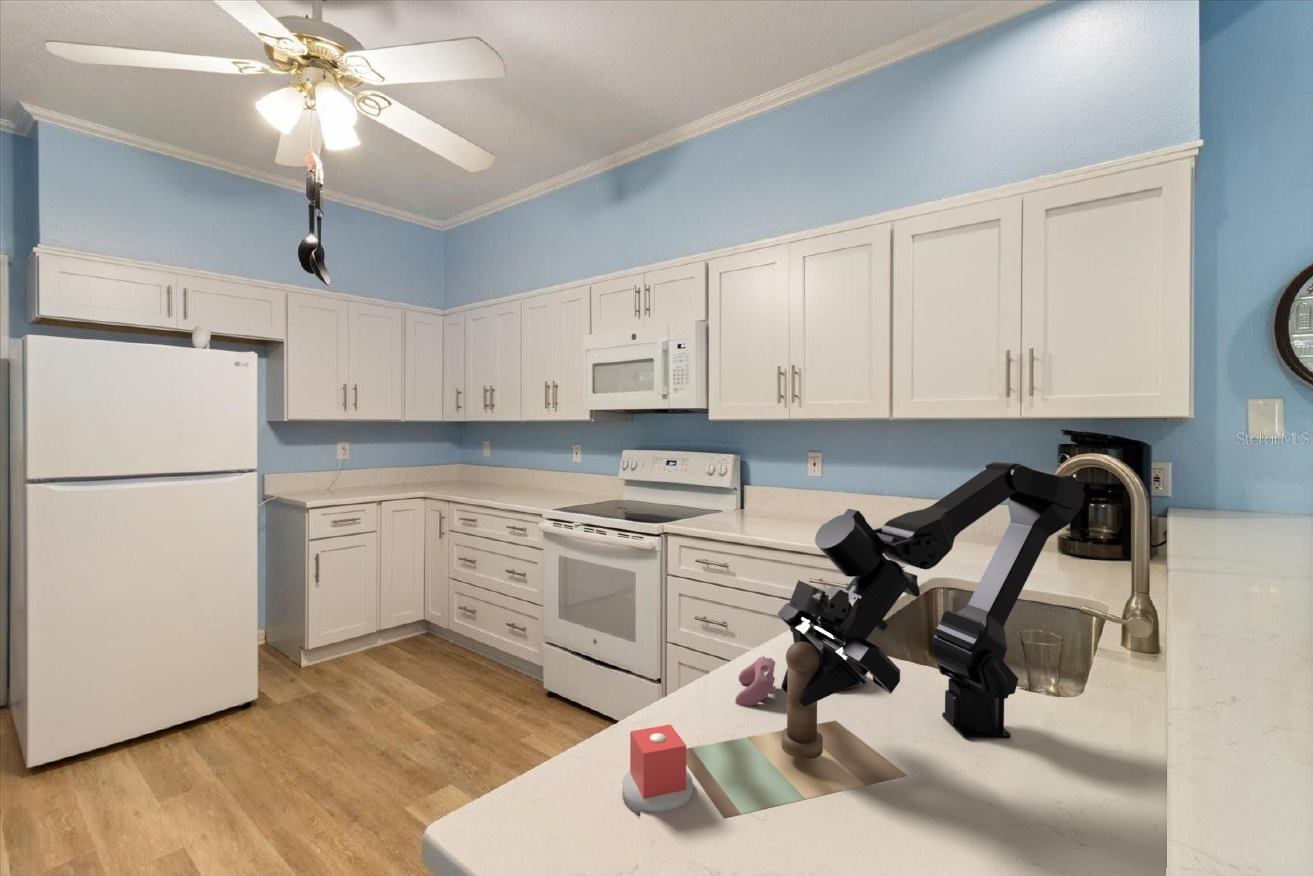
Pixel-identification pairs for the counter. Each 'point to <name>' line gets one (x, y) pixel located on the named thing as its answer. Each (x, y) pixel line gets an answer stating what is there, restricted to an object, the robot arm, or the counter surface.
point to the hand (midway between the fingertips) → (792, 697)
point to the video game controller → (756, 682)
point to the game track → (784, 770)
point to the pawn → (801, 720)
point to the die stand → (657, 771)
